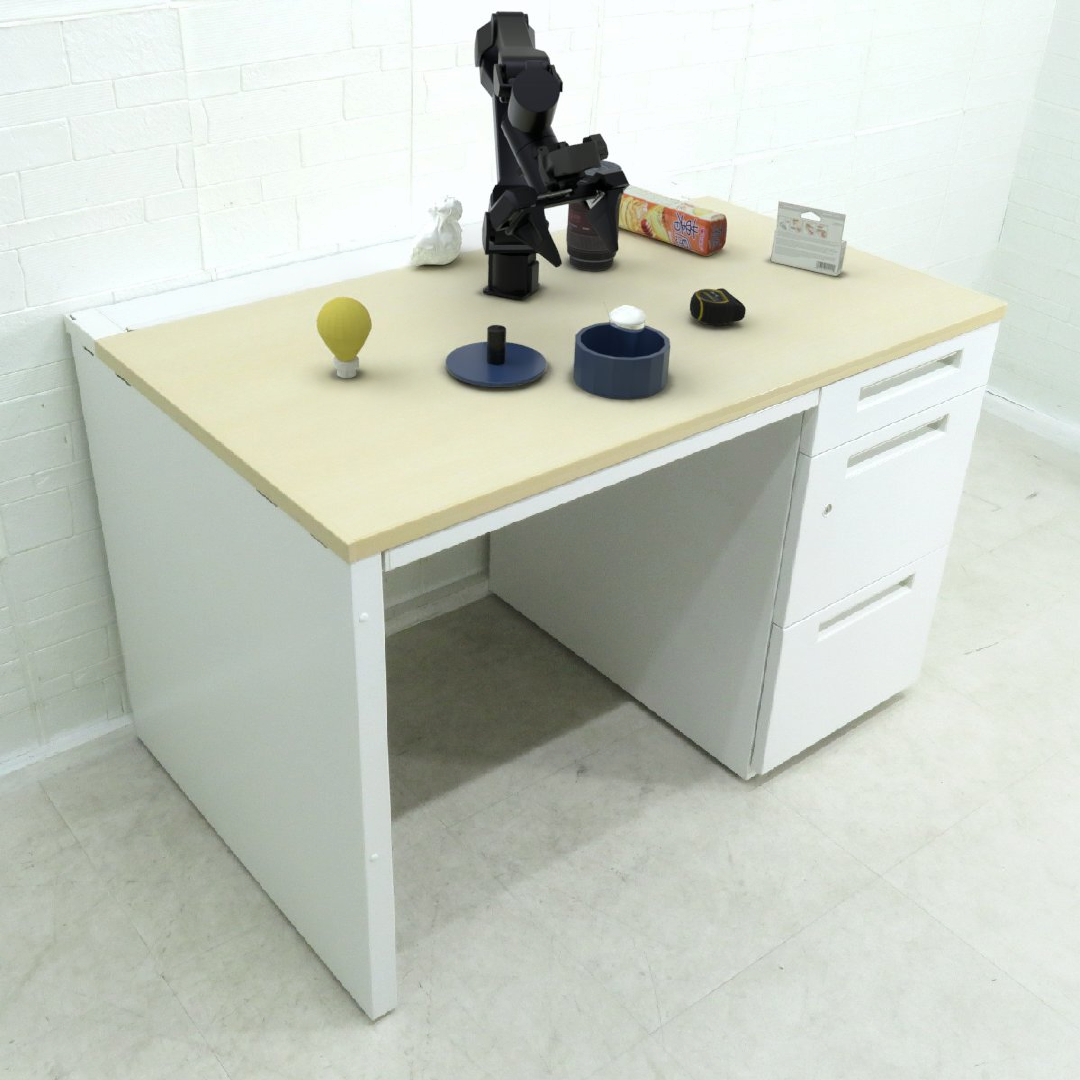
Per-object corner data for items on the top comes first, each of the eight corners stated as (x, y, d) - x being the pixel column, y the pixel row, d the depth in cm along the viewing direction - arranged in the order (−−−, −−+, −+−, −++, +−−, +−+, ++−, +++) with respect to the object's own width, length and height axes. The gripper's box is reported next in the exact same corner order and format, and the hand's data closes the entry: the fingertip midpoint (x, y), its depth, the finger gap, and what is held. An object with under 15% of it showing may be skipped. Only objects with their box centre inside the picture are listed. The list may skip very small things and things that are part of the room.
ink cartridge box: (775, 257, 204) (784, 196, 199) (842, 273, 199) (852, 210, 194) (769, 262, 202) (777, 200, 197) (836, 277, 198) (846, 215, 192)
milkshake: (596, 369, 165) (601, 295, 160) (638, 369, 166) (644, 295, 161) (601, 384, 162) (606, 309, 156) (643, 384, 162) (649, 309, 157)
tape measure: (745, 327, 180) (749, 302, 178) (700, 332, 178) (703, 306, 176) (724, 309, 185) (727, 284, 183) (680, 313, 183) (683, 288, 181)
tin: (558, 387, 161) (560, 347, 158) (594, 353, 170) (596, 315, 168) (647, 406, 157) (651, 366, 154) (678, 370, 167) (682, 332, 164)
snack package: (728, 250, 206) (733, 208, 203) (703, 260, 202) (708, 217, 199) (626, 218, 218) (628, 178, 215) (600, 226, 214) (603, 186, 210)
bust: (420, 287, 194) (460, 237, 187) (385, 250, 194) (424, 199, 187) (459, 263, 203) (499, 215, 196) (425, 228, 203) (464, 178, 196)
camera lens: (556, 267, 197) (560, 169, 189) (575, 251, 203) (580, 156, 196) (606, 276, 195) (612, 177, 187) (624, 260, 201) (631, 163, 193)
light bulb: (350, 390, 158) (346, 313, 153) (308, 376, 161) (303, 300, 156) (384, 371, 163) (381, 296, 158) (342, 358, 166) (339, 284, 161)
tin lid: (427, 378, 162) (427, 336, 159) (473, 342, 172) (473, 302, 169) (520, 399, 158) (521, 356, 155) (561, 361, 168) (563, 320, 165)
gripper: (505, 122, 151) (560, 240, 150) (625, 103, 161) (677, 213, 160) (466, 173, 161) (517, 284, 159) (581, 151, 171) (631, 256, 169)
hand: (588, 258), depth 162 cm, fingers open, 9 cm apart
